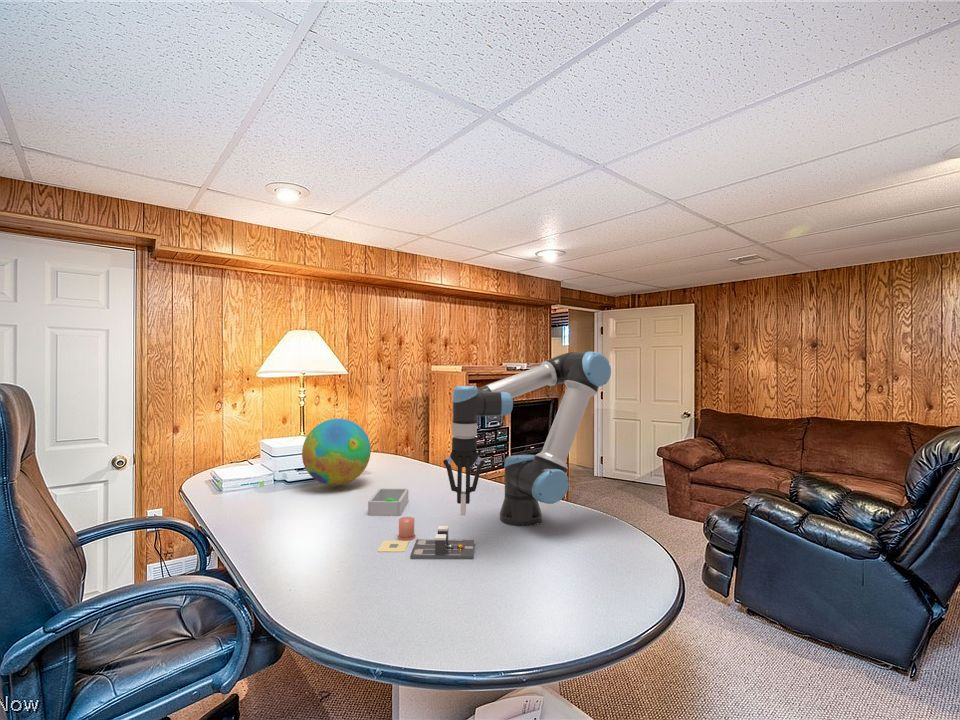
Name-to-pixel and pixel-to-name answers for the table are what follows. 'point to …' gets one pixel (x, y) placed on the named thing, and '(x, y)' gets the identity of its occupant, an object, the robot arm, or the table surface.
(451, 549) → the breaker panel
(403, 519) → the cap
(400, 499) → the parts corral
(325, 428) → the globe
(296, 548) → the table surface
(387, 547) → the pad
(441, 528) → the toggle
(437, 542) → the toggle
